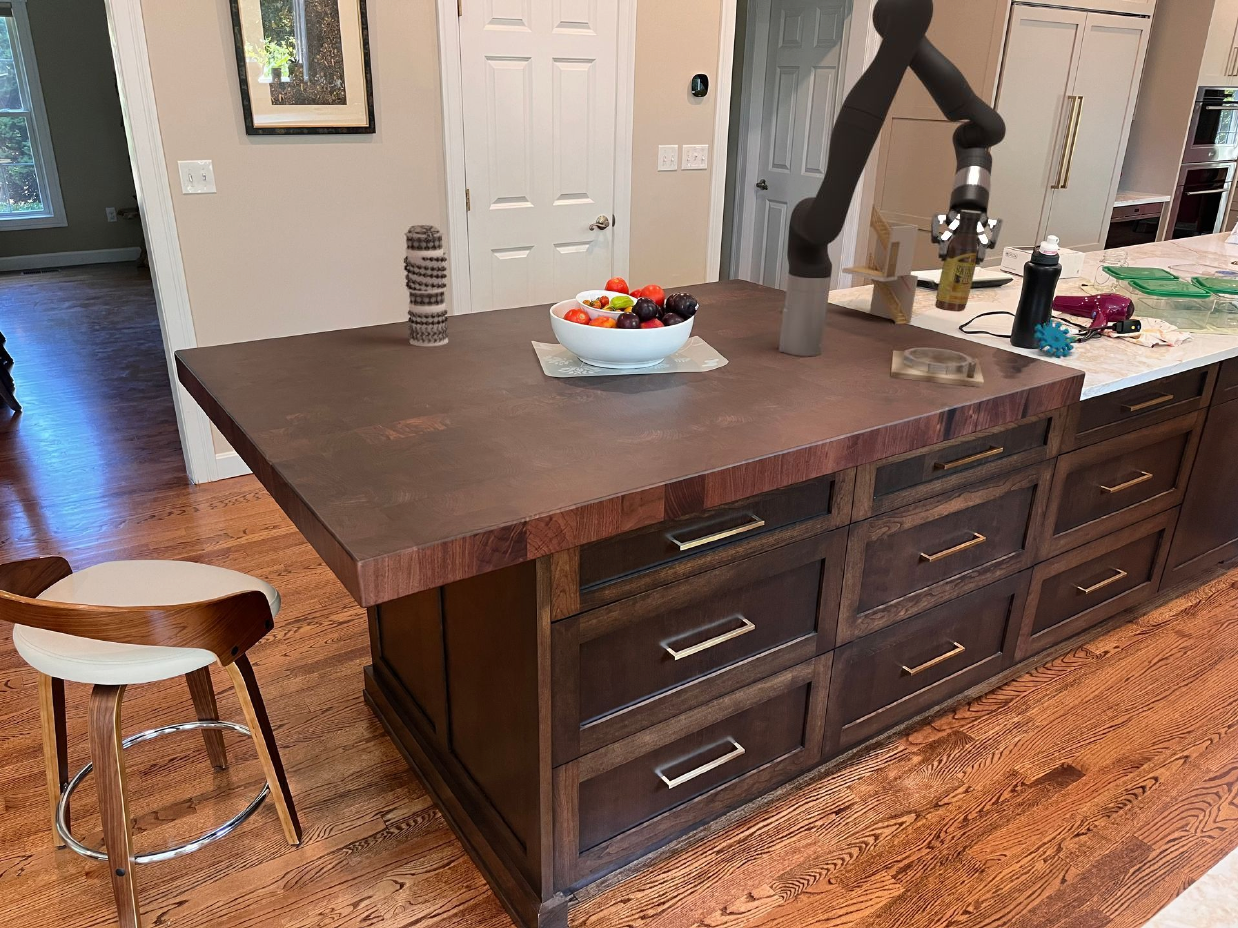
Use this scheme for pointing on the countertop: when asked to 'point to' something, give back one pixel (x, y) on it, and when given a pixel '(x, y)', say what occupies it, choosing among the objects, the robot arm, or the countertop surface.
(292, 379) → the countertop surface
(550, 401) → the countertop surface
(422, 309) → the decorative candle
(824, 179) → the robot arm
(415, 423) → the countertop surface
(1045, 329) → the teal virus model
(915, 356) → the white segmented ring
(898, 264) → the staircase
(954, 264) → the sauce bottle
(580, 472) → the countertop surface
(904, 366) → the maple board
